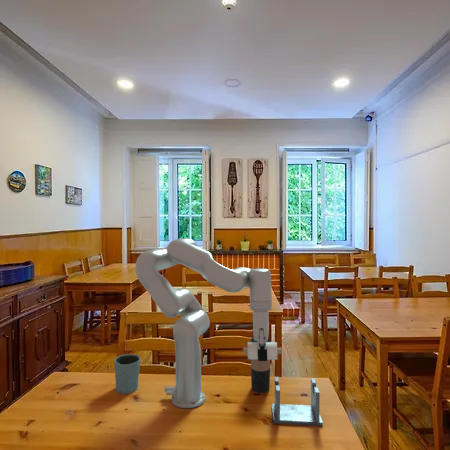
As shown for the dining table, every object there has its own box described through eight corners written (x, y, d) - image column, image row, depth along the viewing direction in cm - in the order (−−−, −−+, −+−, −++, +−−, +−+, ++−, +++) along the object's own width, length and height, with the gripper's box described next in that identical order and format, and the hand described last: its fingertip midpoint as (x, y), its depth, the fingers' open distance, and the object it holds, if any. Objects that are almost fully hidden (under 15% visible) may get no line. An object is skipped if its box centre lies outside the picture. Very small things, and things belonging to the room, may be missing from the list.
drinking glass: (121, 381, 141) (121, 353, 141) (144, 383, 140) (144, 354, 140) (109, 394, 131) (109, 363, 131) (134, 396, 130) (134, 364, 130)
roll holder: (273, 423, 112) (273, 390, 112) (271, 406, 122) (271, 376, 122) (322, 426, 111) (322, 392, 110) (317, 409, 121) (317, 378, 120)
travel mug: (269, 394, 131) (269, 342, 131) (249, 392, 132) (249, 341, 132) (270, 385, 138) (270, 336, 138) (252, 383, 140) (252, 335, 140)
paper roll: (243, 361, 115) (242, 345, 115) (244, 355, 120) (243, 339, 121) (282, 362, 114) (281, 345, 114) (281, 355, 119) (280, 340, 119)
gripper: (250, 299, 126) (252, 348, 126) (249, 311, 109) (250, 367, 109) (271, 299, 125) (272, 348, 125) (272, 311, 108) (274, 367, 108)
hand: (262, 356), depth 117 cm, fingers closed on paper roll, 5 cm apart
